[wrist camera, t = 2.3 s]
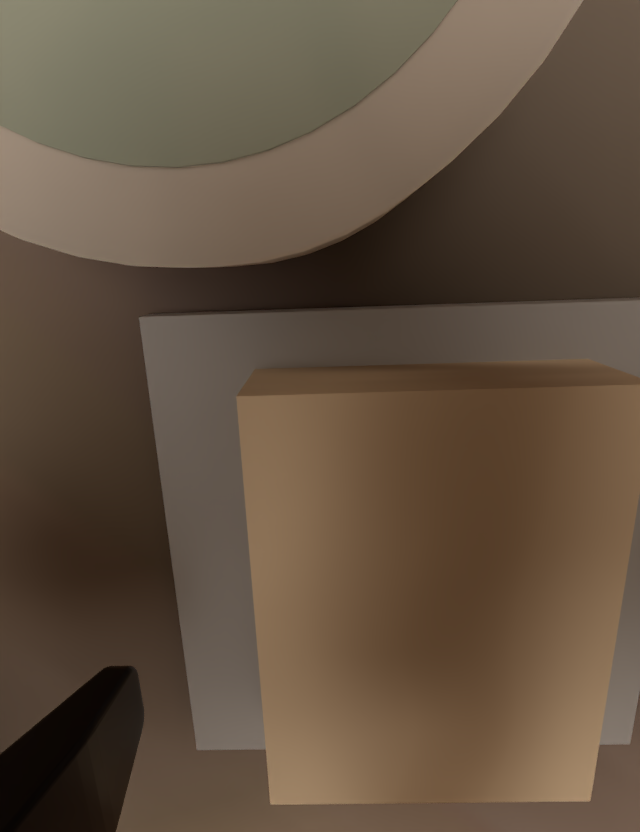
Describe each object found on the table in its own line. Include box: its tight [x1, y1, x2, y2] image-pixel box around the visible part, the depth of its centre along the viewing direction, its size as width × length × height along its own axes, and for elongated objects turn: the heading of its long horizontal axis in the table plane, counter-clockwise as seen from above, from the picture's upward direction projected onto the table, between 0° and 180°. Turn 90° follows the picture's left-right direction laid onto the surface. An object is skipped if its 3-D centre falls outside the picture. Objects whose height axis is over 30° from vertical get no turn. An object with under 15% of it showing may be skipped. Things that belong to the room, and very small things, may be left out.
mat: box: [139, 297, 640, 750], centre depth 11 cm, size 10×10×1 cm
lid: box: [236, 359, 640, 805], centre depth 9 cm, size 6×8×2 cm
